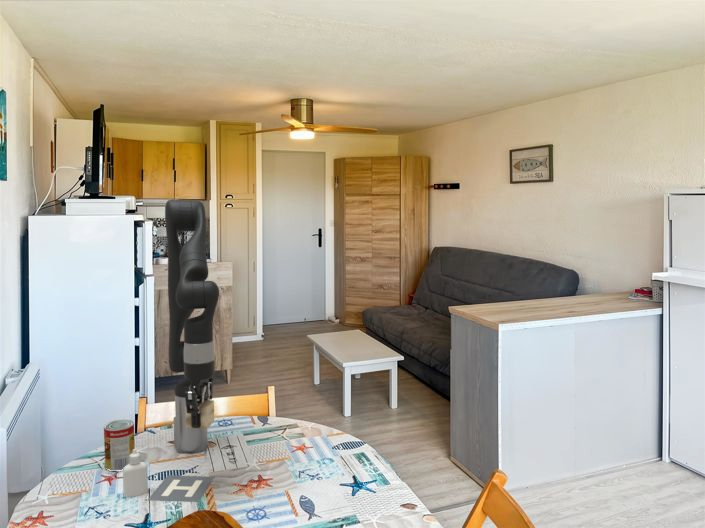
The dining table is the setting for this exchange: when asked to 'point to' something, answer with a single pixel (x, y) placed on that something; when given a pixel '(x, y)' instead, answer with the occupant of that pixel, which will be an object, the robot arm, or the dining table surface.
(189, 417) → the maple block
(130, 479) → the eye dropper bottle
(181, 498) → the letter board
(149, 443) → the dining table surface
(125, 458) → the canned food
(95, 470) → the dining table surface
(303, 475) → the dining table surface
